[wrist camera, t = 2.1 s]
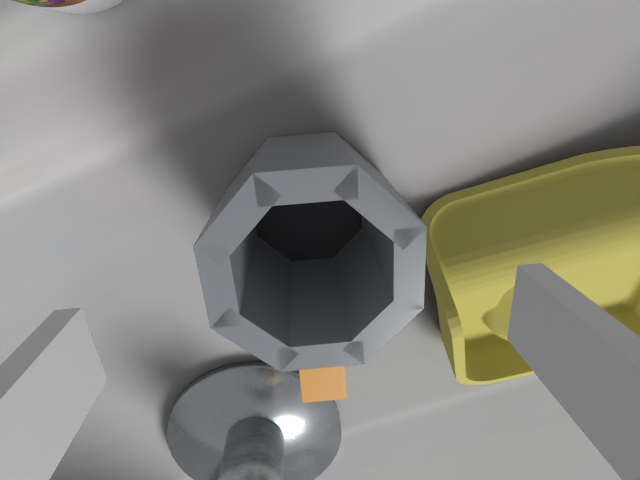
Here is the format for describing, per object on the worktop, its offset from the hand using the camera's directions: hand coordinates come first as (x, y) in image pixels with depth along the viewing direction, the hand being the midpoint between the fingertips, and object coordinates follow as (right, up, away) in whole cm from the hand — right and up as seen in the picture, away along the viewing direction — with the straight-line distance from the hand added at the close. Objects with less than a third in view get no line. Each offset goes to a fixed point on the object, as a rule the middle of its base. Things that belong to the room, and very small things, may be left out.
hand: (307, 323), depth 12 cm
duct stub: (-4, -11, +16) cm, 20 cm away
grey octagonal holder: (0, +3, +11) cm, 11 cm away
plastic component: (+16, +2, +13) cm, 21 cm away
